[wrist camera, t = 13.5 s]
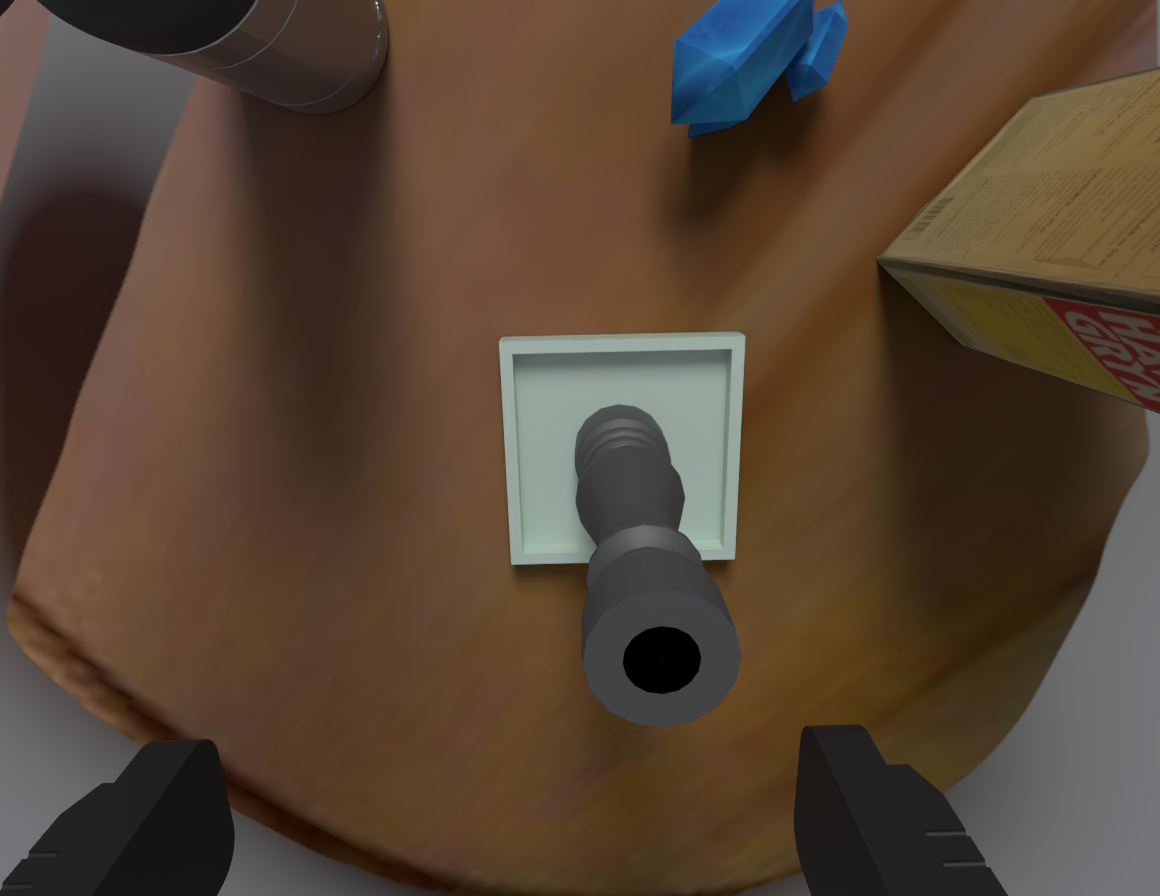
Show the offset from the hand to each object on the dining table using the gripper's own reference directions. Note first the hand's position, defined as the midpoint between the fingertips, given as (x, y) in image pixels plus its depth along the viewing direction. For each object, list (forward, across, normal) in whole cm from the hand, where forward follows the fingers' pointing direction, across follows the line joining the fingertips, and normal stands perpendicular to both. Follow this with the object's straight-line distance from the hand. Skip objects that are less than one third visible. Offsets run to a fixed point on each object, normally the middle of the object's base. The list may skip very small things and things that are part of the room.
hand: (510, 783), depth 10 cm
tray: (+40, -4, +8) cm, 41 cm away
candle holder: (+40, -4, +8) cm, 40 cm away
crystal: (+40, -11, -15) cm, 44 cm away
